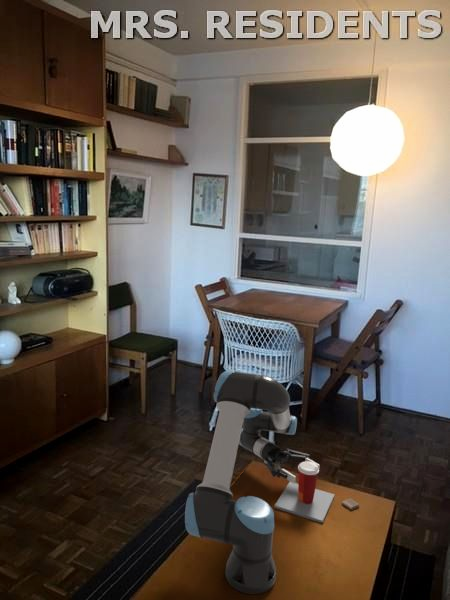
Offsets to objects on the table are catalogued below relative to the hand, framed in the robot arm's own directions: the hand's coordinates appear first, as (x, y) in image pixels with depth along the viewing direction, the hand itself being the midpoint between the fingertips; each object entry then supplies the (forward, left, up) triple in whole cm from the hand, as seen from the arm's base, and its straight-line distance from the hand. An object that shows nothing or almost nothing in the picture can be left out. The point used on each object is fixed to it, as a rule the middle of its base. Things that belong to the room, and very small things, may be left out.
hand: (307, 474), depth 183 cm
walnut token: (+16, -5, -12) cm, 21 cm away
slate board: (0, -1, -11) cm, 11 cm away
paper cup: (0, -1, -10) cm, 10 cm away
